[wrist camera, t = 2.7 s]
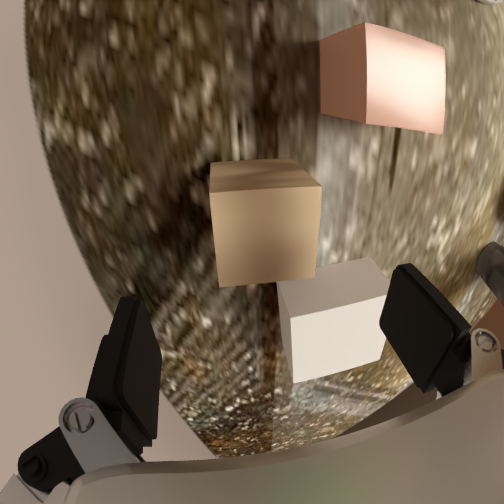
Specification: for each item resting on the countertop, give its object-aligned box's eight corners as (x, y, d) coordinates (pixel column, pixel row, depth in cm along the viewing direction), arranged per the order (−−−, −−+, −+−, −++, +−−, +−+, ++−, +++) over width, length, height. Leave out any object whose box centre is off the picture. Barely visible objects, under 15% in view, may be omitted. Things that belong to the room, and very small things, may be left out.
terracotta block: (386, 52, 14) (444, 48, 9) (385, 119, 17) (442, 134, 12) (319, 40, 14) (364, 22, 9) (320, 113, 16) (365, 123, 11)
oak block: (289, 158, 18) (322, 186, 12) (288, 228, 20) (314, 277, 15) (210, 162, 17) (209, 193, 12) (216, 234, 20) (219, 287, 15)
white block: (368, 255, 23) (397, 291, 18) (359, 322, 27) (379, 359, 22) (275, 273, 22) (290, 317, 18) (281, 341, 26) (293, 383, 22)
